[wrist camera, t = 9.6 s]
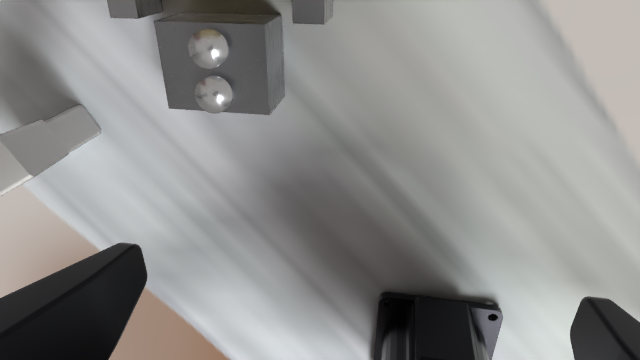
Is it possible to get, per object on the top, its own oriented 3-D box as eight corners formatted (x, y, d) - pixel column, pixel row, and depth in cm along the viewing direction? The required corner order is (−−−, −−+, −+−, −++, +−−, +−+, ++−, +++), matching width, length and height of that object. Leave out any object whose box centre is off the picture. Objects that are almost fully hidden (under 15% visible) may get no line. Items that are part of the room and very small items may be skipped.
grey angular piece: (52, 161, 24) (-91, 248, 17) (30, 134, 24) (-128, 213, 17) (144, 108, 22) (20, 186, 15) (122, 77, 21) (-19, 142, 14)
